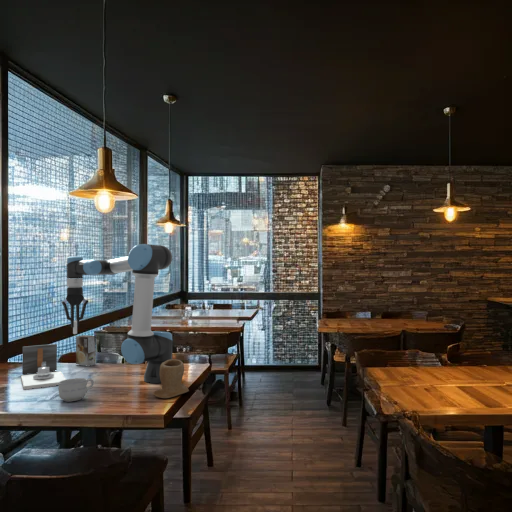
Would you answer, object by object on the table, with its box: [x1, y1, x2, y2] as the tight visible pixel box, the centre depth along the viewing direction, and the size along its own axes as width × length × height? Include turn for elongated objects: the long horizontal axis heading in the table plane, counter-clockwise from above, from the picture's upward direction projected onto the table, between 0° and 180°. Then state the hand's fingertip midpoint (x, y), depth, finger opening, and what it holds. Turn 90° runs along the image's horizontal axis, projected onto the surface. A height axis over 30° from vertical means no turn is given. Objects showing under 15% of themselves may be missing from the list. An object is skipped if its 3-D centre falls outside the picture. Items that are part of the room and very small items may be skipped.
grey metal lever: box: [33, 362, 54, 379], centre depth 222 cm, size 19×9×5 cm, turn 25°
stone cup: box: [153, 358, 190, 399], centre depth 191 cm, size 15×12×15 cm
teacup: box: [58, 377, 95, 403], centre depth 186 cm, size 14×11×8 cm
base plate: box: [20, 371, 67, 390], centre depth 217 cm, size 25×18×2 cm
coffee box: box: [75, 334, 97, 367], centre depth 255 cm, size 9×6×16 cm
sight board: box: [21, 343, 58, 375], centre depth 235 cm, size 2×16×14 cm, turn 120°
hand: (75, 333), depth 230 cm, fingers closed
